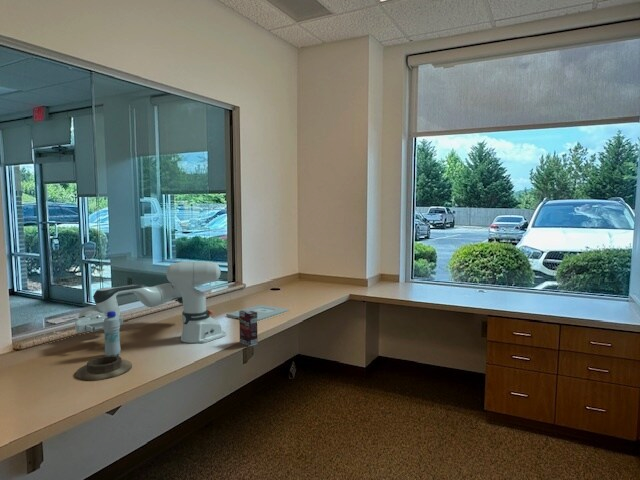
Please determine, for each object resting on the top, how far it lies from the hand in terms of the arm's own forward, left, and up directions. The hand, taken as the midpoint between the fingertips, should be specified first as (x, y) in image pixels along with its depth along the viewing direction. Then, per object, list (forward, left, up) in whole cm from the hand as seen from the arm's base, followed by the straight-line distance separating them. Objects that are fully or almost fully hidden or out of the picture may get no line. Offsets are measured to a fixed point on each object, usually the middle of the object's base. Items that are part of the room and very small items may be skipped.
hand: (104, 327), depth 191 cm
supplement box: (-53, +38, -11) cm, 66 cm away
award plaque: (-89, -5, -11) cm, 90 cm away
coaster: (+8, +26, -11) cm, 29 cm away
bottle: (0, +10, -11) cm, 15 cm away
